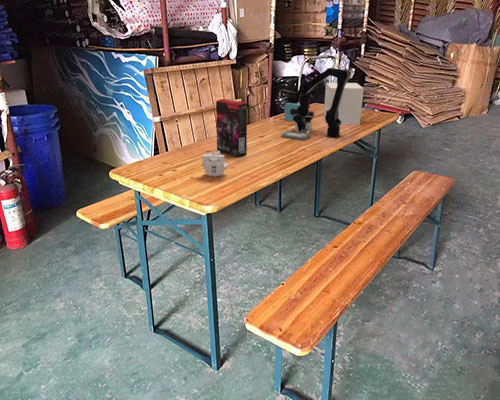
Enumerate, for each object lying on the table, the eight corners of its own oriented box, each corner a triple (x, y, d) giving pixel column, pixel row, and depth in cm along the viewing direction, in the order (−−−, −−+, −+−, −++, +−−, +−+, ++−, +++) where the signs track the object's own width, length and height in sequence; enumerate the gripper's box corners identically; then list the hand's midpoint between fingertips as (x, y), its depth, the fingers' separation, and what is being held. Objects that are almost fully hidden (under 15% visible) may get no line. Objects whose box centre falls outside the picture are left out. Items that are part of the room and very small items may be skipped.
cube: (323, 117, 319) (326, 82, 310) (353, 117, 318) (356, 83, 309) (327, 125, 296) (330, 88, 286) (359, 125, 295) (363, 88, 286)
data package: (302, 121, 304) (302, 104, 299) (298, 122, 300) (299, 105, 296) (287, 119, 311) (288, 102, 306) (284, 120, 307) (284, 102, 303)
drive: (310, 132, 275) (311, 121, 272) (307, 134, 271) (308, 122, 269) (298, 130, 279) (298, 119, 277) (294, 132, 276) (295, 121, 273)
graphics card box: (215, 151, 236) (214, 100, 225) (225, 148, 240) (224, 98, 230) (238, 157, 225) (238, 104, 214) (247, 155, 230) (248, 102, 219)
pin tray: (310, 137, 263) (310, 130, 262) (303, 140, 256) (304, 134, 255) (288, 134, 271) (288, 127, 269) (281, 137, 264) (281, 130, 262)
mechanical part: (228, 171, 205) (228, 147, 200) (226, 180, 193) (226, 155, 189) (204, 171, 205) (203, 146, 200) (201, 180, 194) (200, 154, 189)
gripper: (299, 101, 280) (298, 125, 286) (285, 105, 265) (284, 131, 271) (315, 102, 275) (313, 127, 281) (302, 107, 260) (301, 133, 266)
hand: (303, 129), depth 275 cm, fingers open, 9 cm apart
